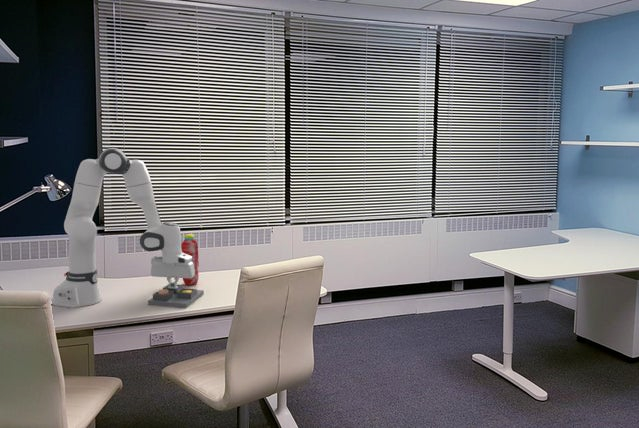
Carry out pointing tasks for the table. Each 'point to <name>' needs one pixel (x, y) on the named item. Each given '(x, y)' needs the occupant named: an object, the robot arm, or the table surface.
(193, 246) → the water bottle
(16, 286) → the table surface
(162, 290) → the terracotta button
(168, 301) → the button panel
